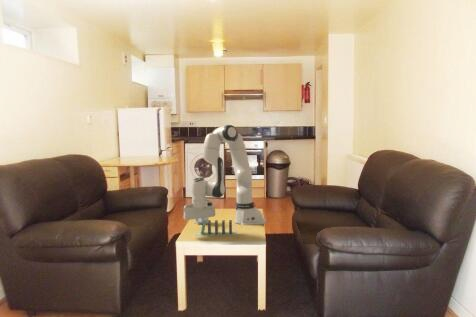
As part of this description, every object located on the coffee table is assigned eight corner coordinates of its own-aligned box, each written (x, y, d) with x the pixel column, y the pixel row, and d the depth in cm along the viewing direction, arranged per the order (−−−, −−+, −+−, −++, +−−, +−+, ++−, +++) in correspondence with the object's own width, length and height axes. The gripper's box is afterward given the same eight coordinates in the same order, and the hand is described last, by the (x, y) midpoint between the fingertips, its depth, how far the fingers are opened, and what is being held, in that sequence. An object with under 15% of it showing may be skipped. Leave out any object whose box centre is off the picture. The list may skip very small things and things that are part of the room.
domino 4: (225, 232, 221) (224, 220, 220) (224, 234, 217) (224, 222, 216) (222, 232, 221) (222, 220, 220) (222, 234, 217) (221, 222, 216)
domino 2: (211, 232, 221) (210, 220, 220) (210, 234, 217) (210, 222, 216) (208, 232, 221) (208, 220, 221) (207, 234, 217) (207, 222, 216)
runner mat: (237, 232, 222) (236, 231, 222) (236, 235, 215) (236, 235, 215) (197, 232, 223) (197, 231, 223) (195, 236, 216) (195, 235, 216)
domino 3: (218, 232, 221) (217, 220, 220) (217, 234, 217) (217, 222, 216) (215, 232, 221) (215, 220, 220) (215, 234, 217) (214, 222, 216)
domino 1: (204, 232, 221) (206, 220, 221) (203, 234, 217) (205, 222, 216) (201, 232, 221) (203, 220, 221) (200, 234, 217) (202, 222, 216)
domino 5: (232, 232, 221) (231, 220, 220) (231, 234, 217) (231, 222, 216) (229, 232, 221) (229, 220, 220) (229, 234, 217) (229, 222, 216)
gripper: (184, 206, 210) (185, 228, 212) (215, 202, 218) (216, 223, 220) (181, 204, 216) (182, 225, 218) (212, 200, 224) (213, 221, 226)
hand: (199, 224), depth 219 cm, fingers closed
